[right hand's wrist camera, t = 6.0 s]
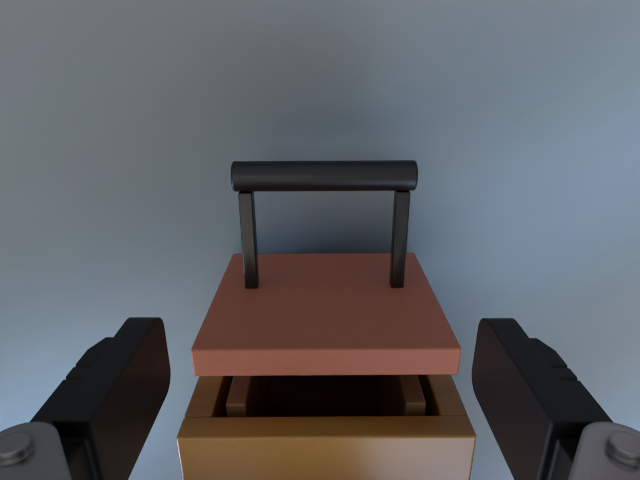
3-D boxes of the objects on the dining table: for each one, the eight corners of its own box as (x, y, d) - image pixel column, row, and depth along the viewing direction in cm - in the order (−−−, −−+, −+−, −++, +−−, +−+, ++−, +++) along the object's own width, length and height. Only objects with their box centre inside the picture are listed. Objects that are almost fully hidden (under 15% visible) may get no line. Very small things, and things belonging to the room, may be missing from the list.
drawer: (223, 145, 23) (169, 194, 14) (422, 144, 23) (482, 192, 14) (253, 510, 32) (231, 667, 24) (394, 509, 32) (420, 665, 24)
